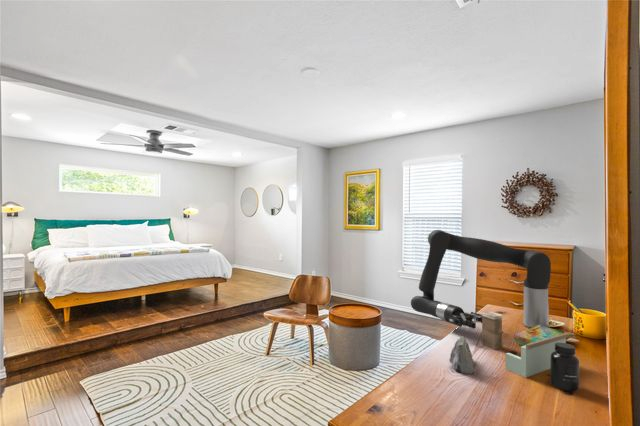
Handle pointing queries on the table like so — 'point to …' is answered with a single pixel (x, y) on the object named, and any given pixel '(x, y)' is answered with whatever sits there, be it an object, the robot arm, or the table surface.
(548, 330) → the puzzle game
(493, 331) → the brown wooden block
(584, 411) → the table surface
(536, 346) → the mint green shelf
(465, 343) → the mineral rock
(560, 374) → the supplement bottle
